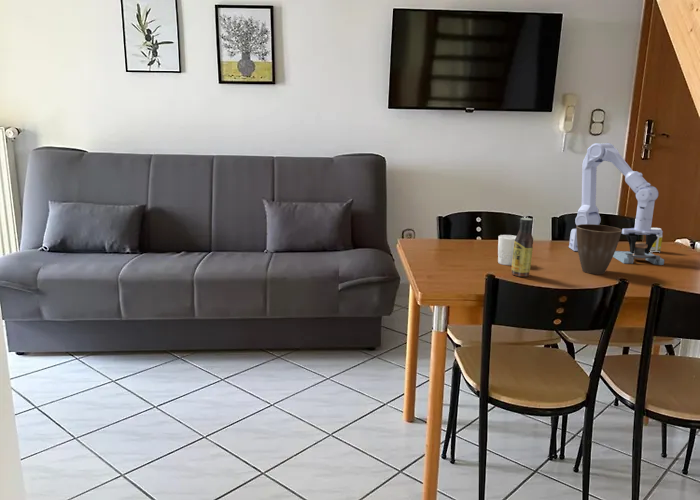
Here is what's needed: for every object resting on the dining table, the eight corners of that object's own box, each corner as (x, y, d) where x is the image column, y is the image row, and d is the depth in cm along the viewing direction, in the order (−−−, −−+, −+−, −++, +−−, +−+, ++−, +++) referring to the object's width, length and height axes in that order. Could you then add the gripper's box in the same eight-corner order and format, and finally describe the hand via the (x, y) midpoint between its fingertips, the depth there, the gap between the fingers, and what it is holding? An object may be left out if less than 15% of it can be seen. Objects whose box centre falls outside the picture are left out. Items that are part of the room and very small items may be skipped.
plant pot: (579, 264, 228) (584, 222, 225) (621, 271, 219) (627, 228, 216) (565, 271, 217) (570, 227, 214) (608, 279, 208) (614, 233, 204)
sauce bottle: (508, 272, 213) (513, 216, 209) (525, 272, 214) (531, 216, 209) (514, 277, 207) (520, 219, 202) (532, 277, 207) (538, 220, 203)
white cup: (518, 262, 229) (521, 236, 227) (517, 266, 222) (519, 239, 220) (497, 259, 232) (499, 234, 230) (495, 264, 225) (497, 237, 222)
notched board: (623, 263, 232) (624, 258, 232) (610, 255, 245) (611, 250, 244) (663, 264, 232) (664, 259, 231) (648, 256, 244) (649, 252, 244)
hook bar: (628, 263, 232) (629, 255, 231) (626, 262, 234) (627, 254, 233) (659, 264, 232) (660, 256, 231) (657, 263, 233) (658, 255, 233)
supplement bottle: (657, 250, 257) (660, 227, 255) (662, 253, 252) (665, 230, 250) (643, 249, 258) (647, 227, 256) (648, 252, 253) (652, 229, 250)
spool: (635, 259, 234) (636, 246, 233) (629, 256, 239) (630, 242, 238) (648, 259, 234) (650, 245, 233) (643, 256, 239) (644, 242, 238)
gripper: (628, 219, 229) (624, 254, 232) (668, 220, 229) (663, 256, 232) (621, 216, 236) (617, 250, 239) (659, 217, 236) (654, 251, 239)
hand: (639, 252), depth 236 cm, fingers closed on spool, 5 cm apart
